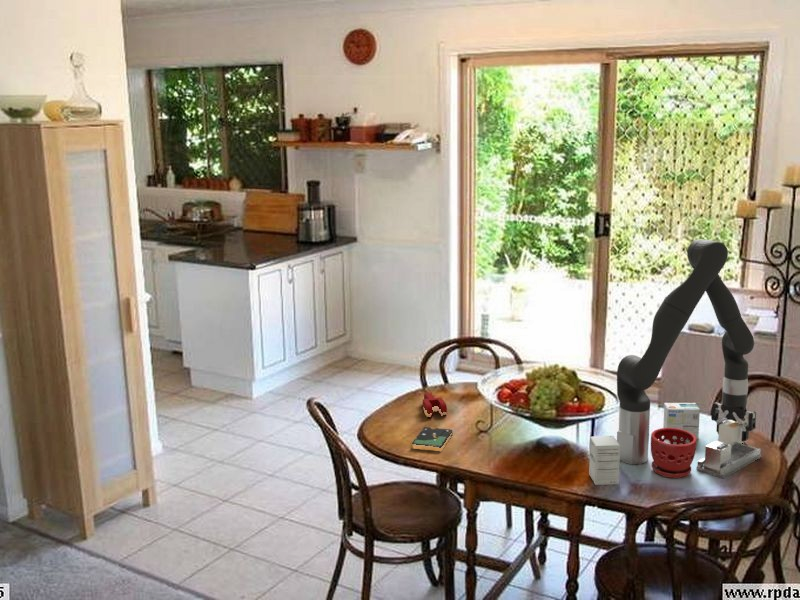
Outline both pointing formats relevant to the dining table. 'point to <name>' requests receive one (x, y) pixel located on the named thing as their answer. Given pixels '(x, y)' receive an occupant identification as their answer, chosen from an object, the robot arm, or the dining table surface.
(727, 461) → the din rail
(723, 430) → the block
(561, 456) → the dining table surface
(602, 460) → the supplement box
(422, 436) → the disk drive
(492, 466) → the dining table surface
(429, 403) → the toy lobster
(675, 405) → the light bulb box
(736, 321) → the robot arm
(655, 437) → the plant pot
